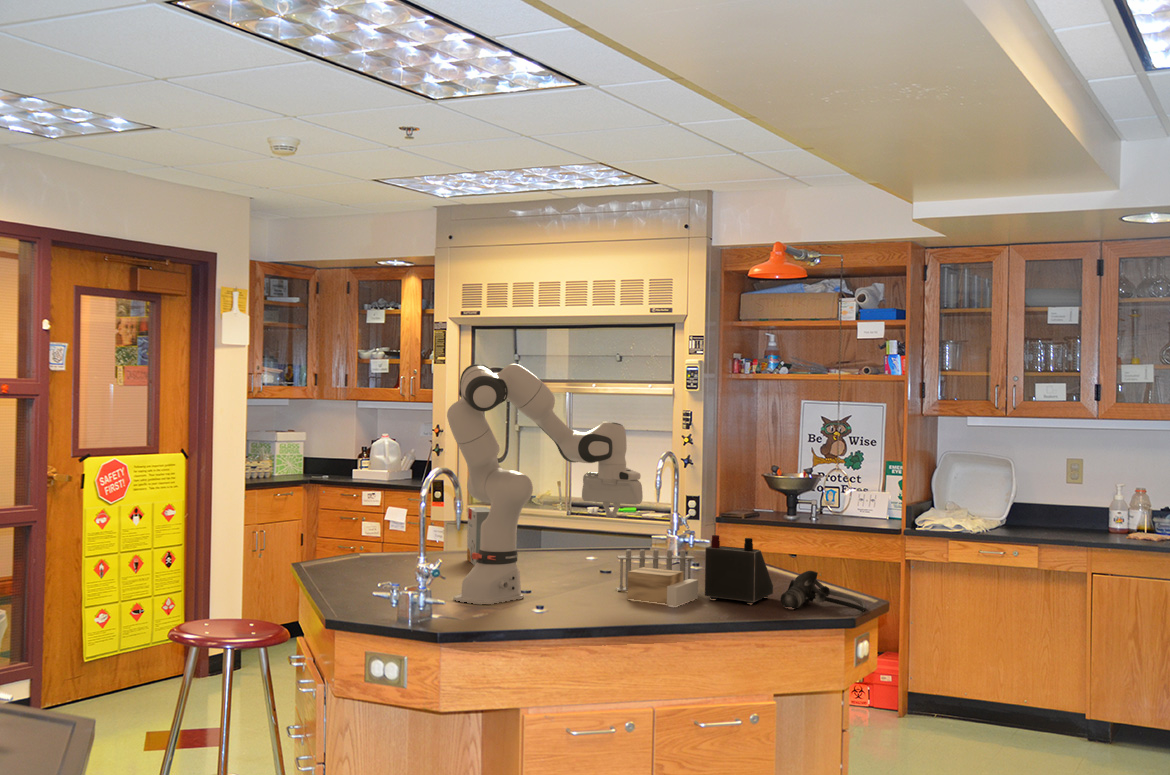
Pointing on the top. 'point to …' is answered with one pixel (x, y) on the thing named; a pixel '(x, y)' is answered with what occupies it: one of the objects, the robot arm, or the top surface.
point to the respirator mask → (814, 593)
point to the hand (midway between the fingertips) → (611, 517)
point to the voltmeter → (736, 572)
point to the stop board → (682, 592)
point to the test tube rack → (655, 563)
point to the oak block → (651, 584)
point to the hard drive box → (475, 530)
